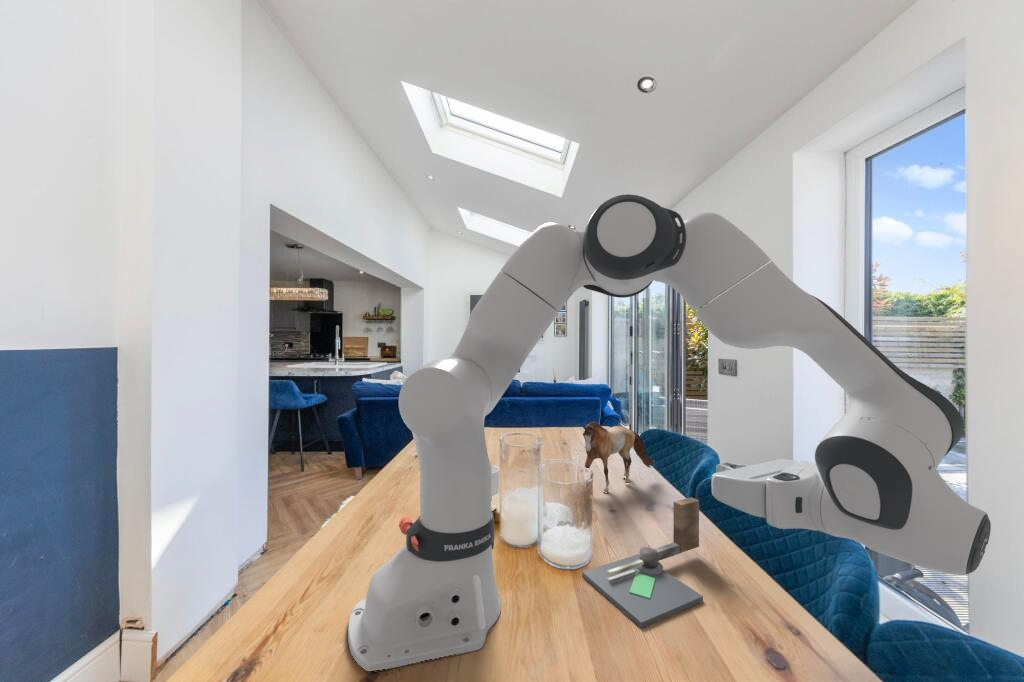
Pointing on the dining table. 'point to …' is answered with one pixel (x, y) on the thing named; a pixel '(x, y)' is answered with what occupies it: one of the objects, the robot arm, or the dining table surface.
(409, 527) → the robot arm
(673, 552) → the lever with brown handle
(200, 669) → the dining table surface
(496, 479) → the white cup
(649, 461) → the horse figurine
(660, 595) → the white-striped grey panel
